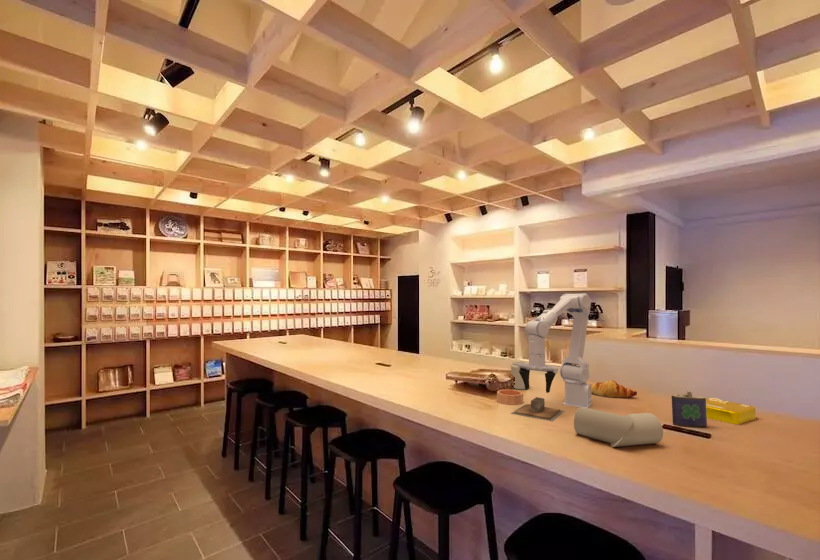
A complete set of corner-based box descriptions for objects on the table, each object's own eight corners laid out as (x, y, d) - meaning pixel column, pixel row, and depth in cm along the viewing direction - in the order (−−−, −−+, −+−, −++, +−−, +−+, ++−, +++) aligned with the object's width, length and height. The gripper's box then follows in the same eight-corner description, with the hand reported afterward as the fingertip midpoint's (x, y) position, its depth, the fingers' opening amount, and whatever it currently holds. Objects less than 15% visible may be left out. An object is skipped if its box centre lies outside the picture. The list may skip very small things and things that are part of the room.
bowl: (526, 401, 158) (526, 391, 158) (517, 407, 150) (517, 396, 150) (503, 398, 164) (503, 388, 164) (493, 403, 156) (493, 393, 156)
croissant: (582, 401, 172) (579, 386, 169) (585, 386, 180) (583, 372, 177) (637, 407, 160) (635, 392, 157) (638, 391, 168) (636, 376, 165)
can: (530, 390, 178) (529, 363, 178) (513, 390, 178) (513, 363, 178) (525, 386, 185) (525, 361, 186) (509, 386, 185) (509, 361, 186)
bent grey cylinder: (606, 451, 104) (670, 445, 108) (599, 410, 107) (661, 406, 111) (568, 442, 121) (624, 438, 125) (563, 407, 124) (618, 403, 128)
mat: (564, 412, 144) (564, 410, 144) (552, 422, 132) (552, 421, 132) (525, 405, 153) (525, 404, 153) (510, 414, 141) (510, 413, 141)
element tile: (687, 414, 142) (687, 400, 142) (709, 408, 149) (708, 395, 149) (737, 426, 129) (736, 411, 129) (758, 419, 136) (757, 405, 136)
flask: (704, 425, 129) (703, 390, 129) (709, 428, 126) (708, 392, 126) (671, 423, 131) (669, 388, 131) (675, 426, 128) (674, 391, 128)
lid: (560, 411, 144) (559, 398, 144) (549, 419, 134) (549, 406, 134) (527, 405, 151) (527, 393, 151) (515, 413, 141) (515, 400, 141)
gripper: (513, 353, 144) (514, 389, 144) (553, 356, 136) (554, 395, 135) (520, 351, 150) (521, 386, 149) (559, 354, 141) (560, 391, 141)
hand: (537, 390), depth 143 cm, fingers open, 7 cm apart
